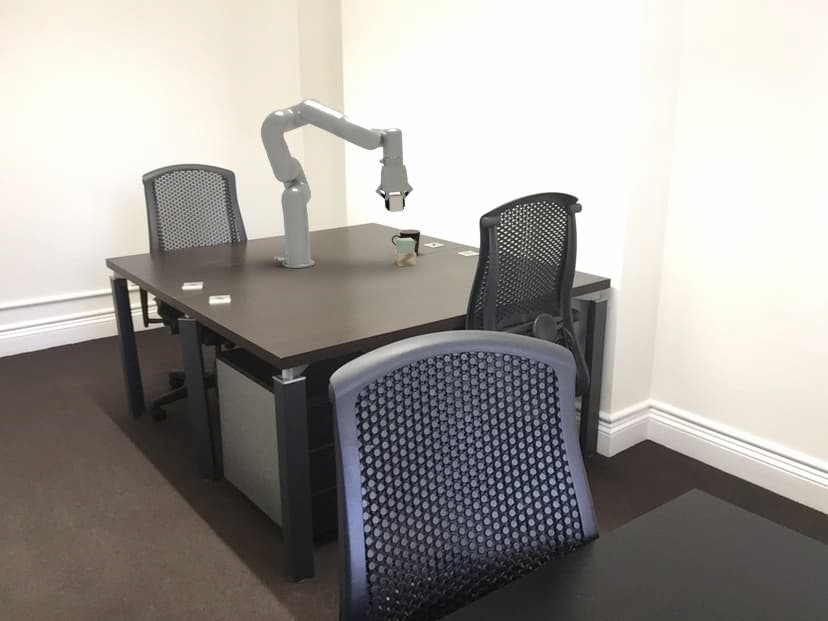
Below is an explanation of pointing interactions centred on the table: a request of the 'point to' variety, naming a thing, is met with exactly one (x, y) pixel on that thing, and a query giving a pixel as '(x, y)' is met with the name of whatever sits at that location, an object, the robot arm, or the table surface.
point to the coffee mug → (410, 234)
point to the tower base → (405, 259)
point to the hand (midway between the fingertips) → (395, 208)
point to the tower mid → (404, 245)
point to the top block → (395, 203)
